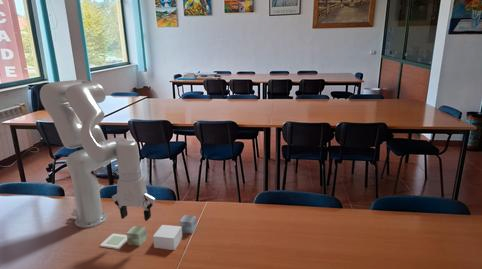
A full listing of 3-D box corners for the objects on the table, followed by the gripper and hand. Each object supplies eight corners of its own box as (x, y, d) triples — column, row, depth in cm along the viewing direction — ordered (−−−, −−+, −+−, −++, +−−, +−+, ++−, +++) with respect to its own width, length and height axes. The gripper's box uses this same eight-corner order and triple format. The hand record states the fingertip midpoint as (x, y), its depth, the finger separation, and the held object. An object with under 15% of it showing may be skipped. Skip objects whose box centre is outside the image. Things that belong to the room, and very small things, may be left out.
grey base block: (154, 248, 121) (153, 236, 120) (163, 236, 129) (162, 224, 128) (174, 250, 120) (173, 238, 119) (182, 238, 127) (181, 226, 126)
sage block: (127, 244, 123) (126, 232, 122) (135, 237, 128) (133, 225, 127) (139, 246, 122) (138, 234, 121) (146, 238, 127) (145, 227, 126)
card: (100, 246, 122) (99, 244, 122) (112, 234, 130) (112, 233, 130) (118, 249, 121) (118, 247, 120) (130, 237, 128) (130, 235, 128)
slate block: (180, 232, 131) (179, 221, 130) (185, 225, 136) (184, 215, 134) (192, 233, 130) (191, 222, 128) (196, 227, 134) (196, 216, 133)
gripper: (102, 177, 116) (109, 221, 121) (146, 180, 112) (152, 225, 116) (115, 170, 123) (121, 211, 128) (157, 172, 119) (161, 215, 124)
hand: (136, 218), depth 122 cm, fingers open, 9 cm apart
